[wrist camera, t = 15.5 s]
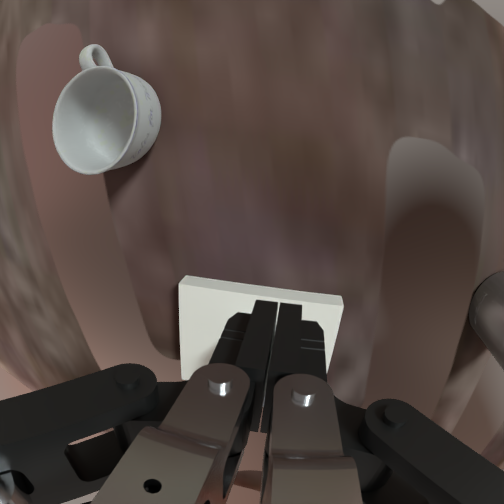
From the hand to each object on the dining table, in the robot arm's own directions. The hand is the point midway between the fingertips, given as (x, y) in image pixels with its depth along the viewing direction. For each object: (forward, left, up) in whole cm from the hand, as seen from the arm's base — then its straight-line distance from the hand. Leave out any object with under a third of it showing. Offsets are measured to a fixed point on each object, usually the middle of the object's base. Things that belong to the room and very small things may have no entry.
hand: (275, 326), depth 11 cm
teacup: (+19, -9, -24) cm, 32 cm away
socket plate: (+2, +17, -24) cm, 29 cm away
